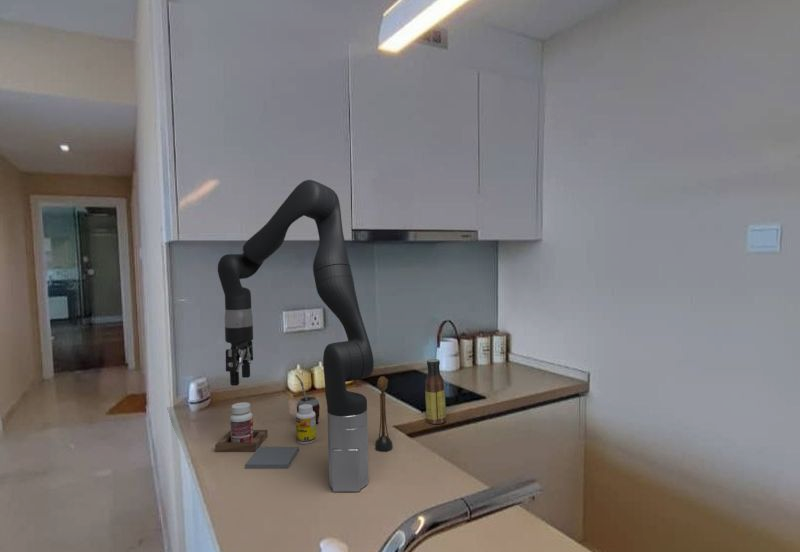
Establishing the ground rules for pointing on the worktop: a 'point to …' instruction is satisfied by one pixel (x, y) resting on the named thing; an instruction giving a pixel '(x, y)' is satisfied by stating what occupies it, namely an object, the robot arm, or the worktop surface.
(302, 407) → the supplement bottle
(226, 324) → the robot arm
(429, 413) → the sauce bottle
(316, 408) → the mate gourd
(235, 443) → the socket block
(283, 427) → the worktop surface
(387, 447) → the wooden tabletop sculpture
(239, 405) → the pill bottle
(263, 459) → the mat
